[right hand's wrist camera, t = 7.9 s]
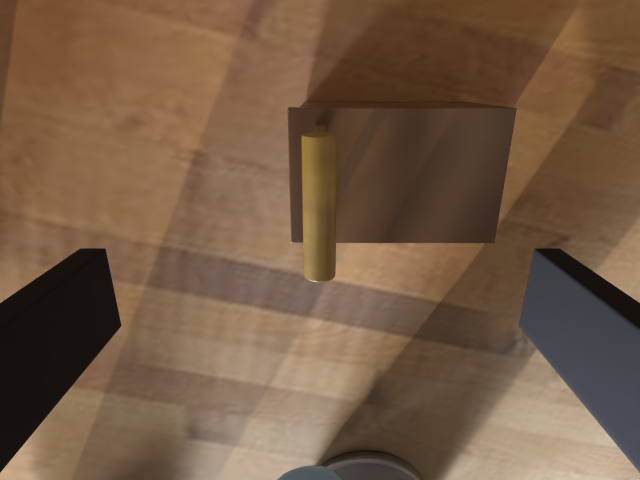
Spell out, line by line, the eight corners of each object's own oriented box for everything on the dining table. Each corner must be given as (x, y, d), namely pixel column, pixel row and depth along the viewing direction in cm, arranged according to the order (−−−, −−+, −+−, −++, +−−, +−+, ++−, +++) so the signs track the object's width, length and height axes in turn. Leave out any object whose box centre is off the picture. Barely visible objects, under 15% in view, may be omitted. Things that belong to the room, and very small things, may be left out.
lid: (292, 237, 30) (281, 296, 22) (288, 107, 27) (274, 116, 18) (488, 238, 30) (553, 297, 22) (509, 107, 27) (595, 116, 18)
